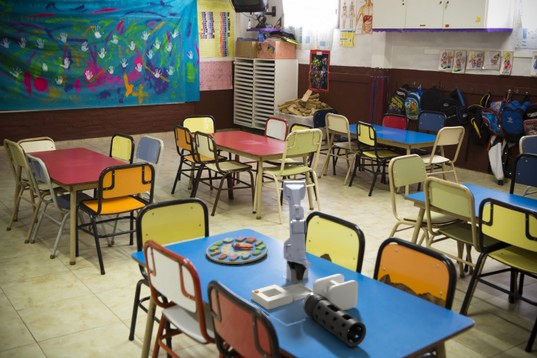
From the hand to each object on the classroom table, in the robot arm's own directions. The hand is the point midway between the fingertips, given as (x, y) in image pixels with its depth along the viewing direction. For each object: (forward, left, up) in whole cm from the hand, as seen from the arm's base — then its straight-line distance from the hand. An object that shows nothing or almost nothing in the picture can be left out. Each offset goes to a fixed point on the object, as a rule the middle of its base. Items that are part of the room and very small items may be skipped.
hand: (297, 278), depth 241 cm
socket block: (+13, 0, -7) cm, 15 cm away
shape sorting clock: (-4, -55, -8) cm, 56 cm away
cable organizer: (-5, +18, -7) cm, 20 cm away
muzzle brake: (+9, +33, -7) cm, 35 cm away
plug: (0, 0, -2) cm, 2 cm away
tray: (0, 0, -7) cm, 7 cm away
